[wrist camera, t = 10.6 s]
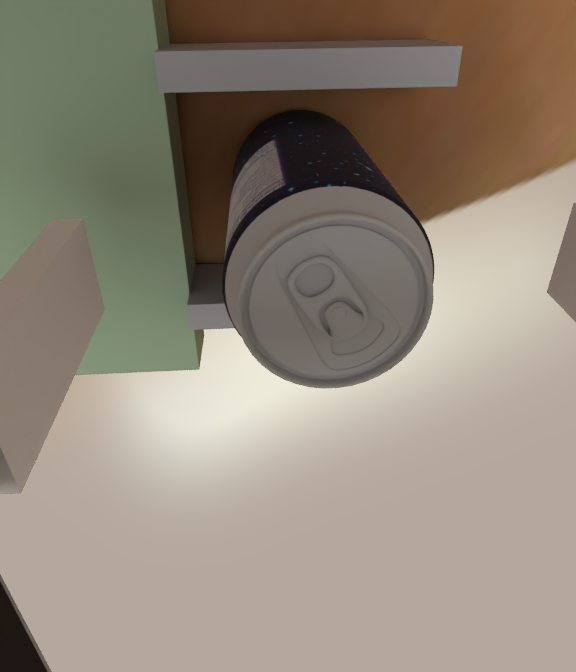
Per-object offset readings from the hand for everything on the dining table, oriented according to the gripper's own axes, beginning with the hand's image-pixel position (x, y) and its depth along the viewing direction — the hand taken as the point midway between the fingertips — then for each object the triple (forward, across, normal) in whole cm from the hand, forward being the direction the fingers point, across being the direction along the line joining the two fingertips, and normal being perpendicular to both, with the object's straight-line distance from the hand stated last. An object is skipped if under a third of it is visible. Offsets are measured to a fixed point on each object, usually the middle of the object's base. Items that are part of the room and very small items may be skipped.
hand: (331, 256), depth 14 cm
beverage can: (+10, 0, -1) cm, 10 cm away
